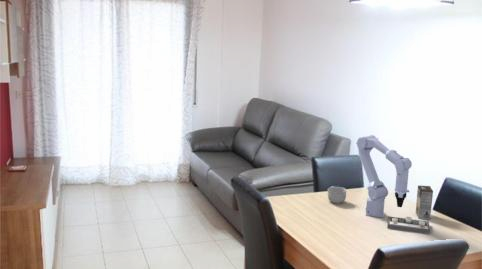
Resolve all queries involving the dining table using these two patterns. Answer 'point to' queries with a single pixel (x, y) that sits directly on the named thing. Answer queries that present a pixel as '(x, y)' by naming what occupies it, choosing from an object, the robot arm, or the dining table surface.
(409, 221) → the middle button
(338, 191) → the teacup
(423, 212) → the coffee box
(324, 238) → the dining table surface
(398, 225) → the button board
